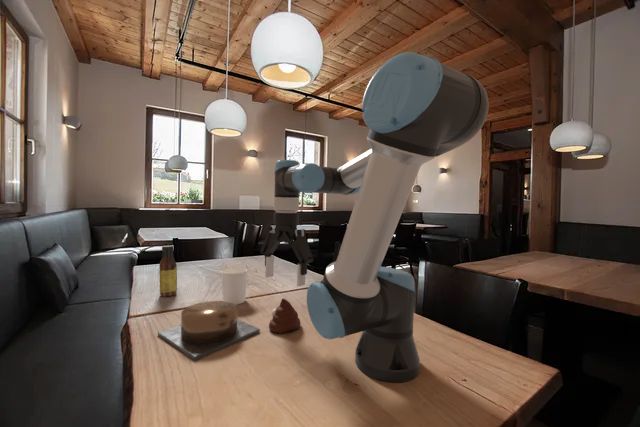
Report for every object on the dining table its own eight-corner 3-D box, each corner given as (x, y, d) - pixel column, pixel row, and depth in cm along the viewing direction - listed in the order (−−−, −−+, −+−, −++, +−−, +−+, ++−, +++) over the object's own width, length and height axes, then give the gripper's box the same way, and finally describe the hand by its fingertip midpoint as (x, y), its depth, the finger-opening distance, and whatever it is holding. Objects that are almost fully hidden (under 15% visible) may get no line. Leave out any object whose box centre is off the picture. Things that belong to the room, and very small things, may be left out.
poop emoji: (277, 337, 81) (278, 305, 81) (263, 327, 87) (264, 297, 87) (305, 328, 87) (306, 298, 87) (290, 319, 94) (291, 291, 93)
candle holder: (239, 307, 104) (240, 274, 103) (215, 304, 106) (215, 272, 105) (251, 298, 113) (252, 268, 113) (229, 296, 115) (229, 266, 115)
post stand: (259, 332, 84) (260, 308, 83) (194, 360, 68) (195, 331, 68) (220, 314, 96) (221, 294, 96) (157, 335, 80) (158, 310, 80)
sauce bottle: (180, 294, 116) (180, 246, 115) (164, 298, 111) (165, 247, 110) (171, 291, 119) (171, 244, 119) (155, 295, 114) (156, 246, 114)
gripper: (326, 213, 82) (324, 286, 83) (267, 210, 97) (266, 271, 98) (310, 214, 76) (307, 292, 77) (250, 210, 91) (248, 275, 92)
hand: (284, 280), depth 87 cm, fingers open, 13 cm apart
